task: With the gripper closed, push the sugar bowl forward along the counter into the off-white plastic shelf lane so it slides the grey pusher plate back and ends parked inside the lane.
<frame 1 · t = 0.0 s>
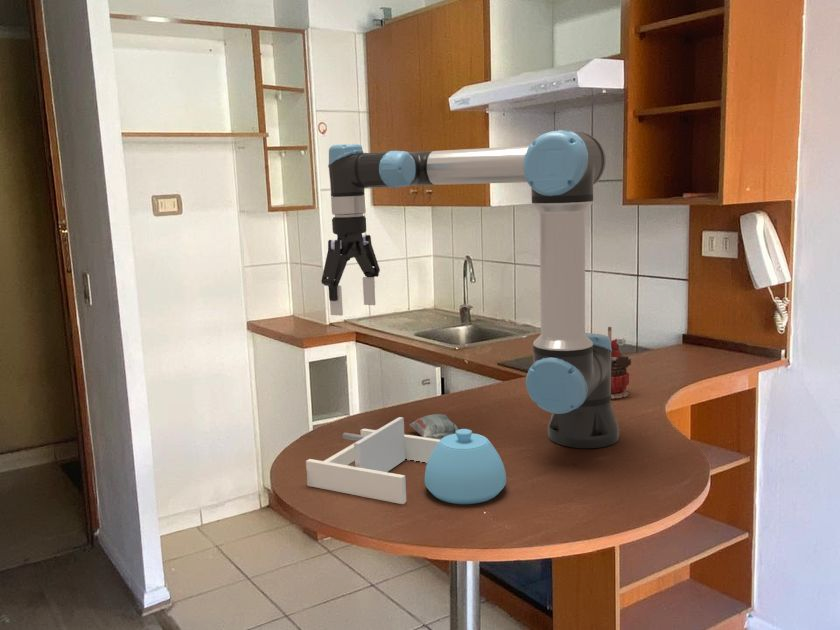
hand: (353, 309, 175), 28 cm above the countertop, fingers open, 13 cm apart
packaged food: (434, 439, 171), on the countertop
lane: (382, 475, 151), on the countertop
pusher: (363, 449, 152), point 5 cm above the countertop, slide at 0.0 cm
sugar bowl: (465, 491, 143), on the countertop
cake: (609, 396, 198), on the countertop
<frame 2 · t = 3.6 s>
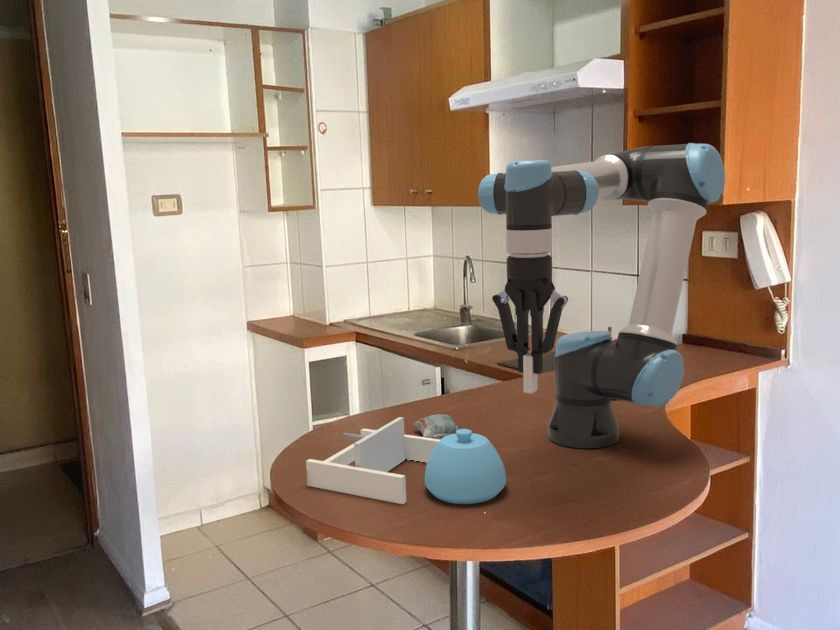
hand: (530, 390, 133), 20 cm above the countertop, fingers closed
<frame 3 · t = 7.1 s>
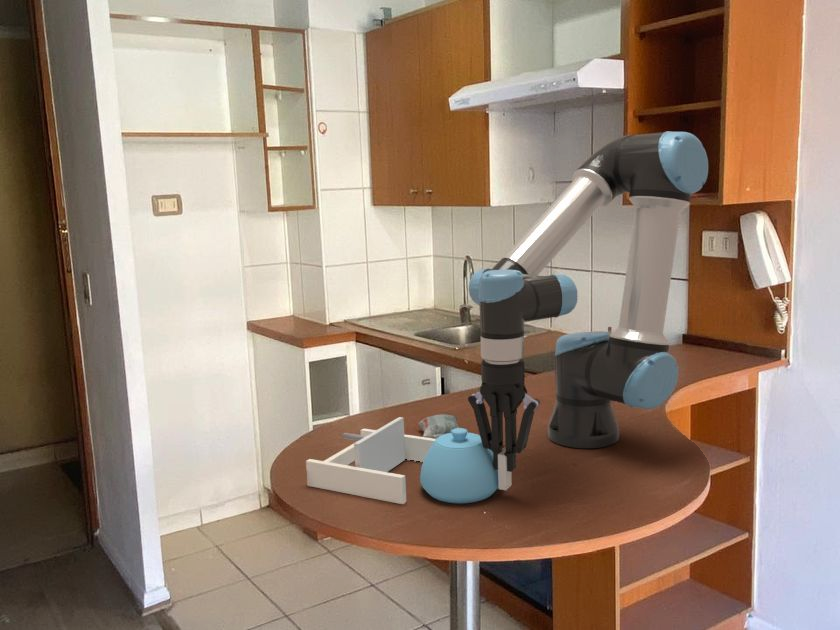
hand: (505, 486, 139), 2 cm above the countertop, fingers closed
sugar bowl: (461, 490, 143), on the countertop, touching gripper
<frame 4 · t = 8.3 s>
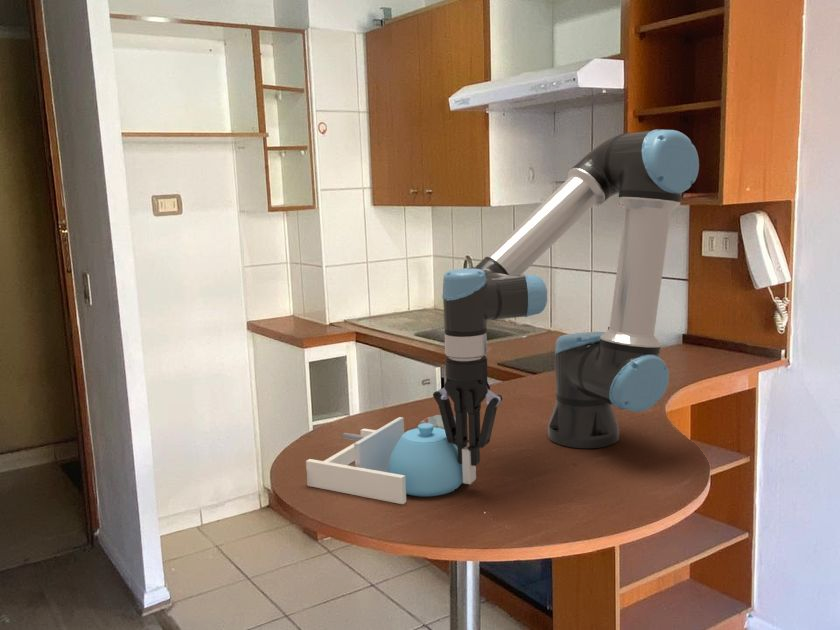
hand: (469, 480, 142), 2 cm above the countertop, fingers closed
sugar bowl: (428, 484, 147), on the countertop, touching gripper
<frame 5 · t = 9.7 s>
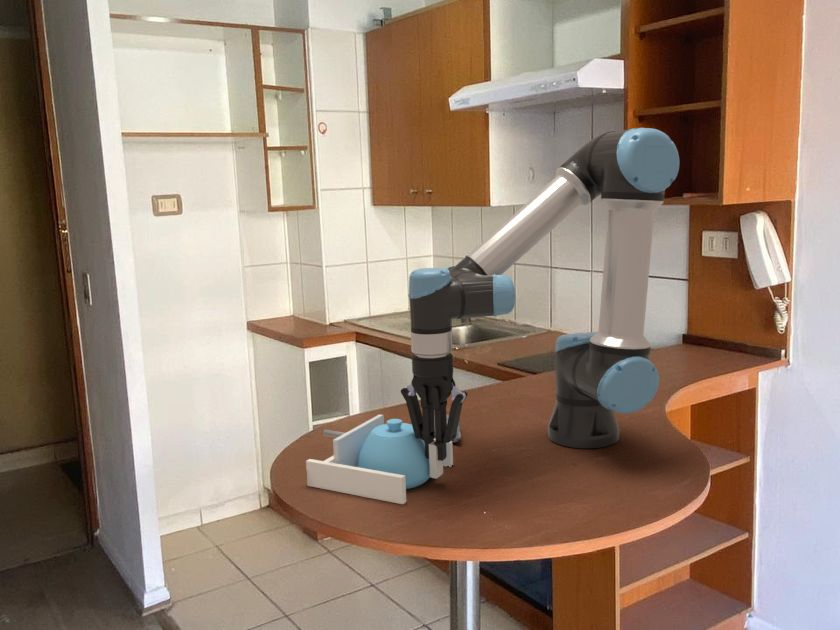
hand: (436, 475, 145), 2 cm above the countertop, fingers closed
pusher: (343, 445, 155), point 5 cm above the countertop, slide at 4.7 cm
sugar bowl: (396, 478, 150), on the countertop, touching gripper
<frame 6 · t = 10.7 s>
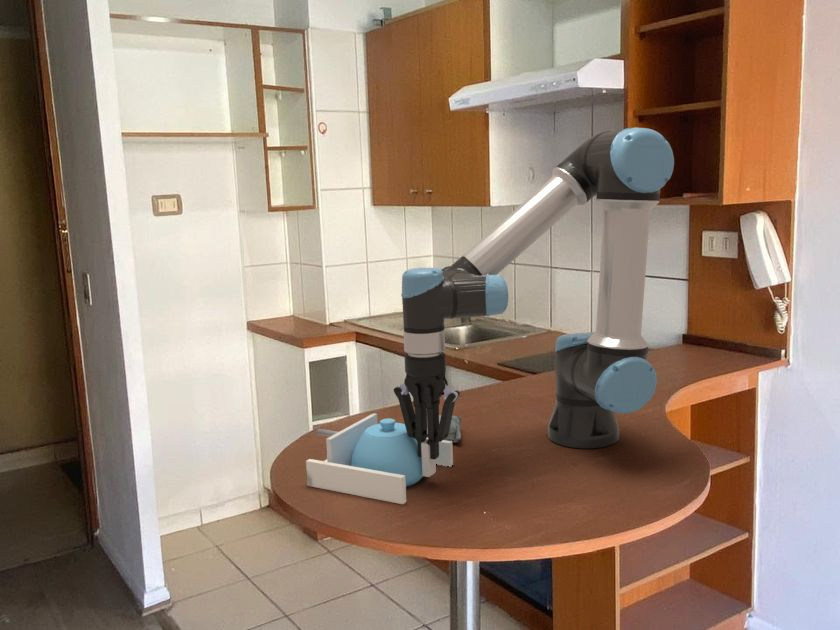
hand: (429, 473, 146), 2 cm above the countertop, fingers closed
pusher: (337, 444, 155), point 5 cm above the countertop, slide at 6.3 cm
sugar bowl: (390, 477, 151), on the countertop
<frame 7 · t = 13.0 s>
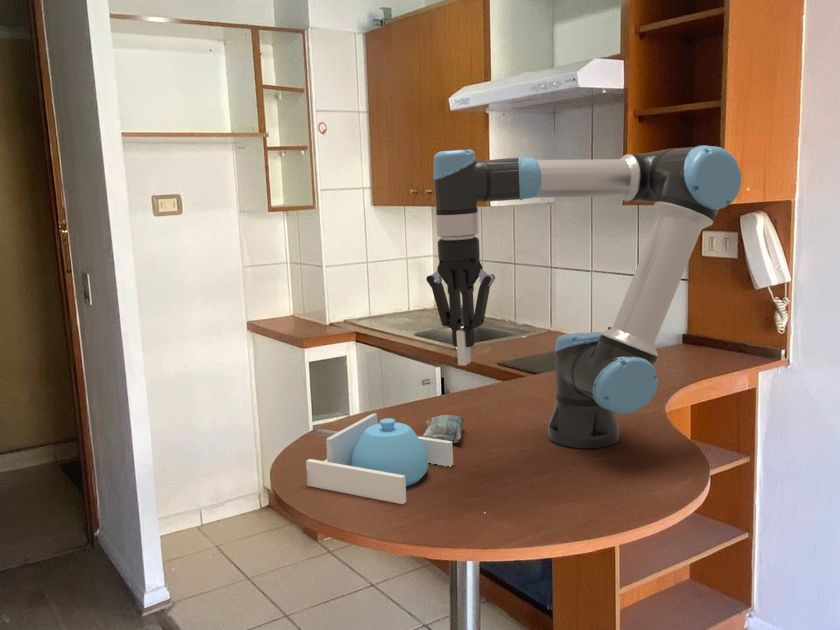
hand: (464, 363, 144), 23 cm above the countertop, fingers closed
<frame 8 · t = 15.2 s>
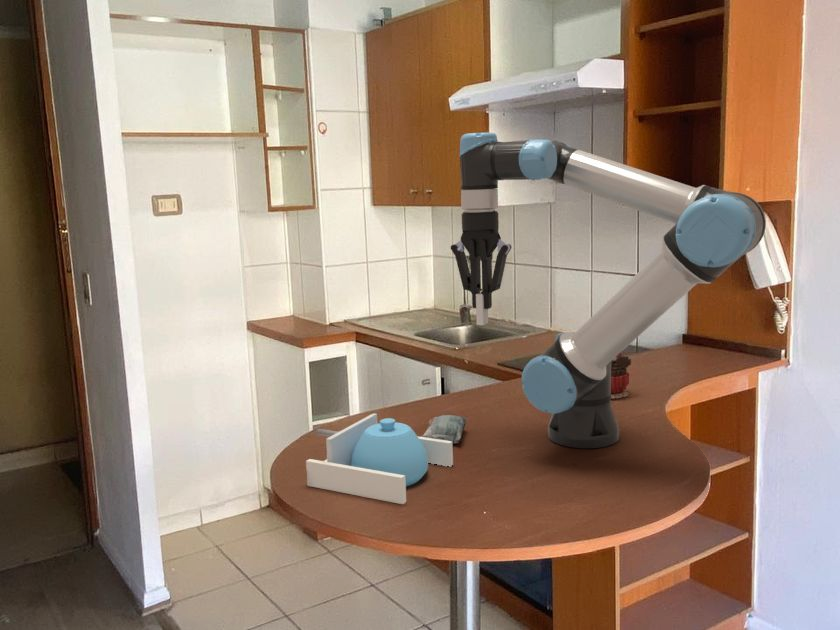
hand: (482, 323, 162), 26 cm above the countertop, fingers closed
at the end: sugar bowl inside the target area (1.2 cm from its centre), on the countertop; pusher slide at 6.3 cm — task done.
